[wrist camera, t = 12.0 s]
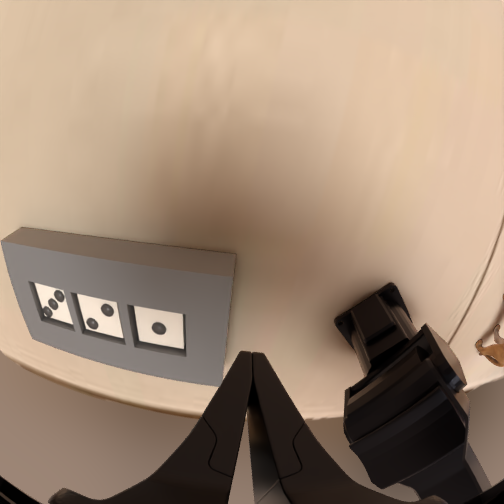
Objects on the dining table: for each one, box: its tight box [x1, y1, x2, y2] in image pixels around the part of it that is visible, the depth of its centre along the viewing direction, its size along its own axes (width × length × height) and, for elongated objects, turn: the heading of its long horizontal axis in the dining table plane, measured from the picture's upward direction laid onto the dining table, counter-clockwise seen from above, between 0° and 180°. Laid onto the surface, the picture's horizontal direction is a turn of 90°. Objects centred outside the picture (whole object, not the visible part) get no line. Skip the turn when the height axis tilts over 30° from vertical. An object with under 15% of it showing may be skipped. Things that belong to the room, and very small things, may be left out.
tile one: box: [134, 306, 186, 349], centre depth 21 cm, size 4×4×2 cm
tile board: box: [1, 227, 236, 387], centre depth 21 cm, size 22×12×3 cm, turn 83°
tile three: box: [35, 283, 73, 324], centre depth 21 cm, size 4×4×2 cm
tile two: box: [77, 294, 124, 338], centre depth 21 cm, size 4×4×2 cm
